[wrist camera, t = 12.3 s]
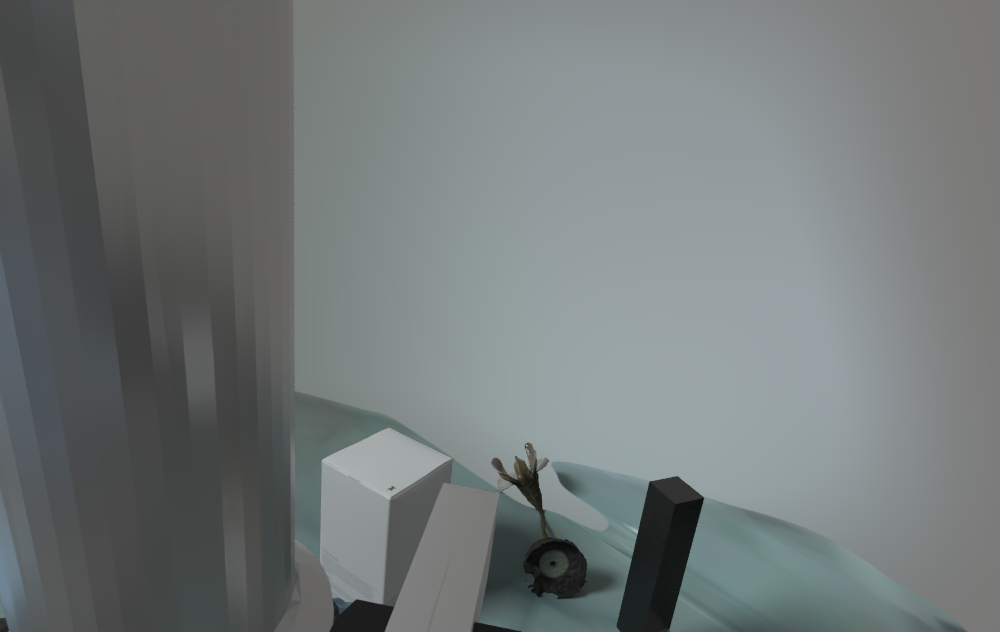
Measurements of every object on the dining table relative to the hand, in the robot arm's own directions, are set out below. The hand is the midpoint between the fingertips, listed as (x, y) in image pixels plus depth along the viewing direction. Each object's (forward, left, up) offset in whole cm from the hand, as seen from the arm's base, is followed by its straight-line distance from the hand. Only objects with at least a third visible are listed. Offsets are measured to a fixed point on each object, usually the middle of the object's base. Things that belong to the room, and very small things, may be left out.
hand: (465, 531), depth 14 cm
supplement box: (-12, +30, -33) cm, 47 cm away
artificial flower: (+1, +44, -34) cm, 56 cm away
